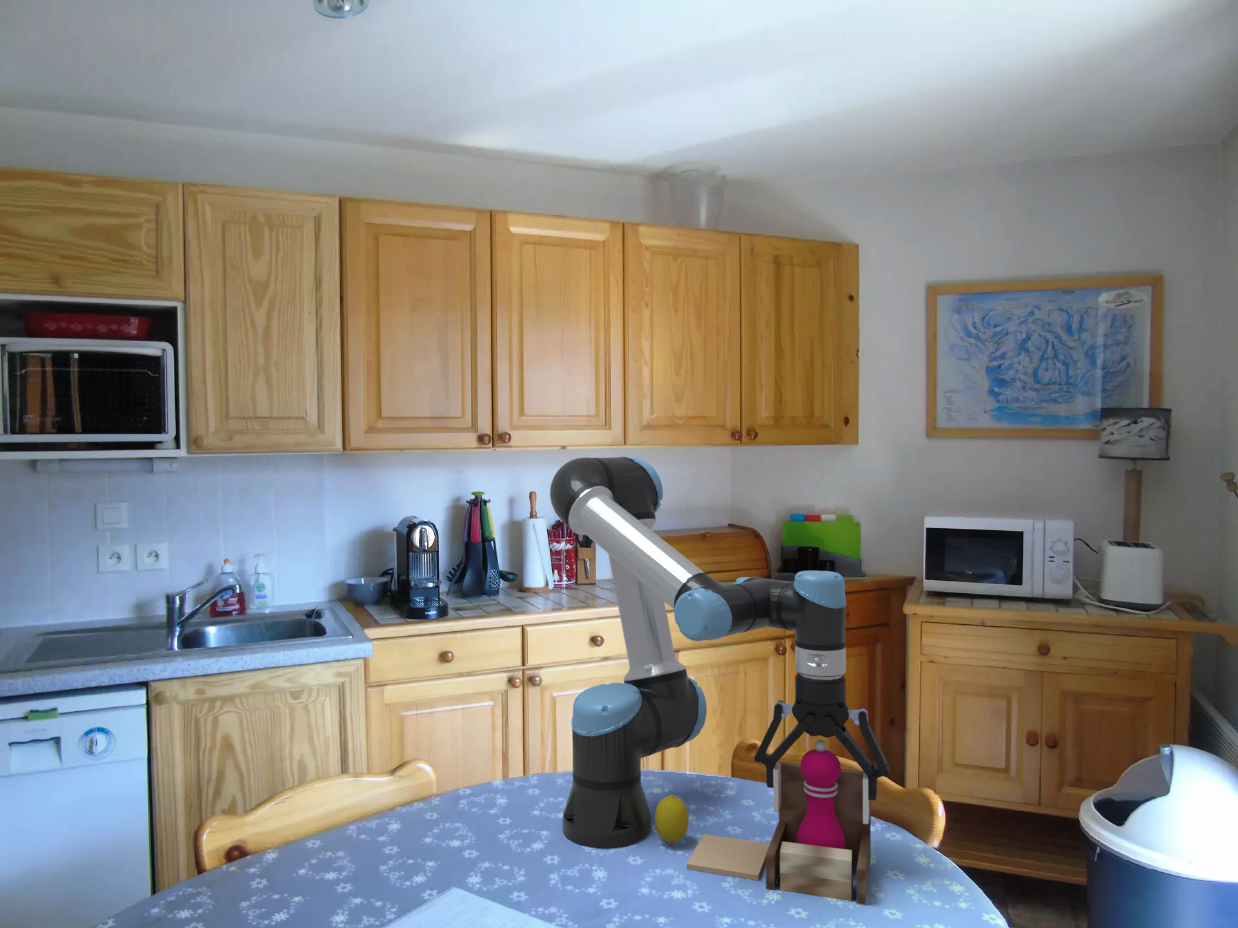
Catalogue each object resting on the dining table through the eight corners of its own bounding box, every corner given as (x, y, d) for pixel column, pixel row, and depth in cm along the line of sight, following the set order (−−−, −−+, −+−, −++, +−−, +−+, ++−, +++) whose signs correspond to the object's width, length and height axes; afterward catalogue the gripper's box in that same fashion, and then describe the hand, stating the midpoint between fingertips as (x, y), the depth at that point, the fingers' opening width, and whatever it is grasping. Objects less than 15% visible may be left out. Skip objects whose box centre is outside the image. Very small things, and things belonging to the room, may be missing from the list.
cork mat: (686, 868, 130) (686, 863, 130) (703, 838, 141) (703, 833, 141) (758, 880, 127) (758, 874, 127) (770, 848, 137) (770, 843, 137)
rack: (766, 888, 124) (765, 792, 124) (780, 848, 137) (779, 761, 137) (865, 904, 120) (865, 805, 119) (870, 861, 132) (870, 772, 132)
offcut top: (779, 872, 123) (780, 851, 123) (782, 861, 127) (782, 841, 127) (851, 881, 121) (851, 860, 121) (851, 870, 124) (851, 849, 124)
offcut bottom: (780, 892, 124) (780, 871, 124) (783, 880, 127) (783, 860, 127) (851, 903, 121) (851, 882, 121) (852, 891, 124) (852, 870, 124)
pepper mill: (847, 863, 132) (846, 735, 132) (843, 886, 125) (843, 750, 125) (799, 856, 134) (799, 730, 134) (793, 878, 127) (793, 744, 127)
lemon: (693, 839, 140) (693, 791, 140) (681, 854, 135) (681, 803, 135) (662, 833, 142) (662, 786, 142) (649, 847, 137) (649, 798, 137)
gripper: (735, 673, 130) (735, 812, 130) (905, 686, 122) (906, 835, 122) (744, 662, 137) (745, 794, 137) (906, 674, 129) (906, 815, 129)
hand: (820, 814), depth 129 cm, fingers open, 12 cm apart
